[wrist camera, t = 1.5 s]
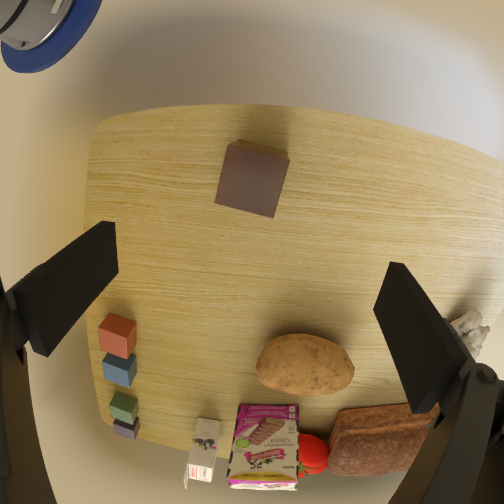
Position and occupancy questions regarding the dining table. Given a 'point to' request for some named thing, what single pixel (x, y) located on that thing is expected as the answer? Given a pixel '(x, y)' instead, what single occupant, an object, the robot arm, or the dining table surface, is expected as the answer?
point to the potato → (304, 365)
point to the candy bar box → (265, 448)
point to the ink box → (203, 450)
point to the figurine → (471, 331)
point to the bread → (377, 439)
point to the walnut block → (252, 178)
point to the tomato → (312, 455)
